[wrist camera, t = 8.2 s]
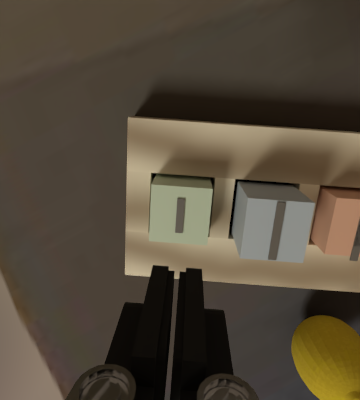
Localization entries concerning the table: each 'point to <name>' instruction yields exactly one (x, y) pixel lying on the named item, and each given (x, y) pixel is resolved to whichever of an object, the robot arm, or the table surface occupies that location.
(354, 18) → the table surface
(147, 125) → the keypad board
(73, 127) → the table surface
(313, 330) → the lemon
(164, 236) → the key sage
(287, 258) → the key slate
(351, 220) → the key terracotta
